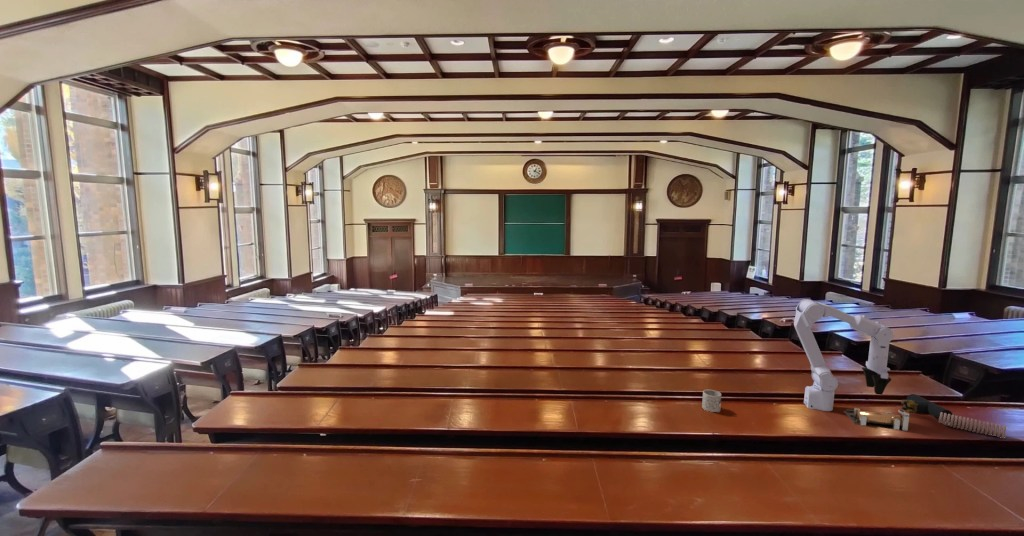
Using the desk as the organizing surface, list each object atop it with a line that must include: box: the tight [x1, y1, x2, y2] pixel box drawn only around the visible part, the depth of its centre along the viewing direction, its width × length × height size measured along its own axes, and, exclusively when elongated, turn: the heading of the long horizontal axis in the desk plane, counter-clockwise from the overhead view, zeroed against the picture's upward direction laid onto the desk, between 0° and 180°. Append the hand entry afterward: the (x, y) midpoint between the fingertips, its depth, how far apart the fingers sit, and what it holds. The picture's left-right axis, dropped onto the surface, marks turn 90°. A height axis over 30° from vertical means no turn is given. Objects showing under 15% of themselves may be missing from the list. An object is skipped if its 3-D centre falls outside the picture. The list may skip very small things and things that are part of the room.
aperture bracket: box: [897, 409, 910, 432], centre depth 167 cm, size 2×4×6 cm, turn 162°
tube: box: [857, 410, 903, 427], centre depth 170 cm, size 14×4×4 cm, turn 72°
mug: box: [701, 389, 722, 413], centre depth 186 cm, size 10×7×7 cm, turn 179°
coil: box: [937, 412, 1007, 439], centre depth 168 cm, size 5×5×18 cm
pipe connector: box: [900, 393, 953, 421], centre depth 182 cm, size 12×5×15 cm
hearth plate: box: [843, 408, 909, 432], centre depth 174 cm, size 16×12×2 cm
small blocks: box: [853, 407, 900, 431], centre depth 171 cm, size 12×7×4 cm, turn 72°
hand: (874, 390), depth 179 cm, fingers open, 7 cm apart
